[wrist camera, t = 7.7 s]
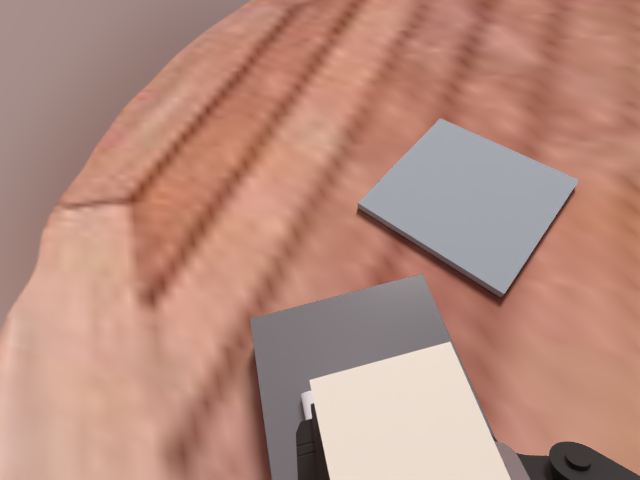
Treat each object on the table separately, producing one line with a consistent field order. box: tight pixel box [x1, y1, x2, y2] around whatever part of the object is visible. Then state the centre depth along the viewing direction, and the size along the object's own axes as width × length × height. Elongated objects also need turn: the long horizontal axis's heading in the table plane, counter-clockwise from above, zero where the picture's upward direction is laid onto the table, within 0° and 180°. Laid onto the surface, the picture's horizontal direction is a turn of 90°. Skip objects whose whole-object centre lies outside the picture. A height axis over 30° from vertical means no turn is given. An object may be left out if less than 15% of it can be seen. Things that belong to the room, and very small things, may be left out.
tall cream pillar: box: [309, 342, 511, 480], centre depth 12 cm, size 5×4×12 cm
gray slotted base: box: [250, 274, 495, 480], centre depth 16 cm, size 16×10×3 cm, turn 14°
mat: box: [358, 118, 579, 298], centre depth 24 cm, size 11×11×1 cm
